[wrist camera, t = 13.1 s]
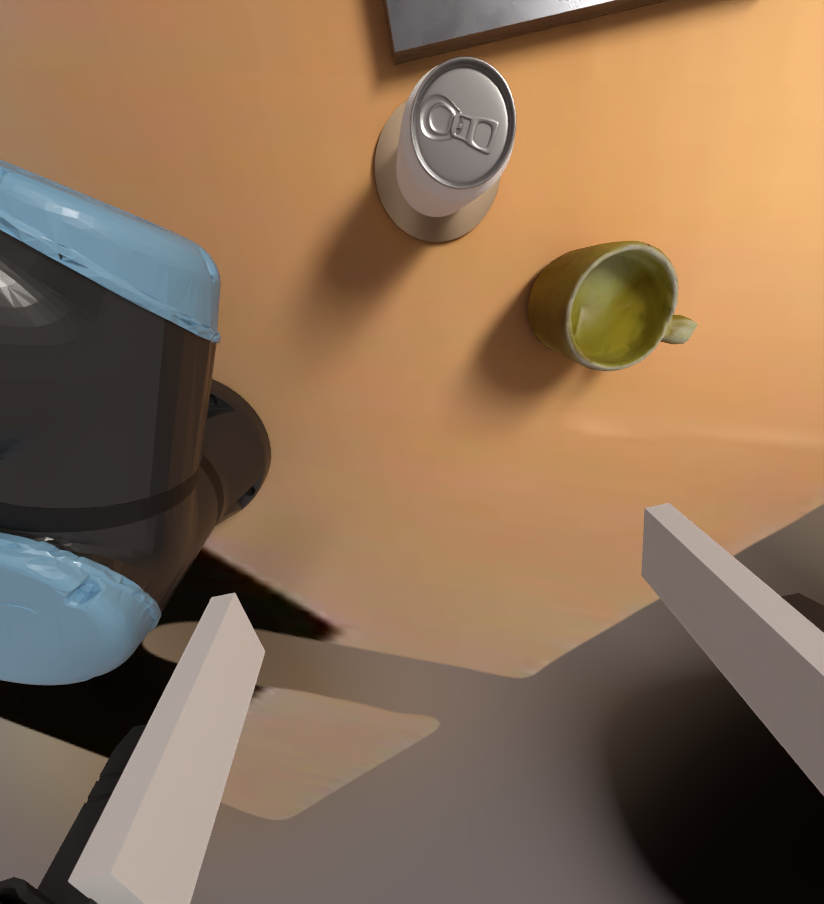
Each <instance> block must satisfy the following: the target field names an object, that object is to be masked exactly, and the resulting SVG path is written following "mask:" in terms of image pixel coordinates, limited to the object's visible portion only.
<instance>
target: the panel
mask: <svg viewBox="0 0 824 904" xmlns="http://www.w3.org/2000/svg"><path fill="white" fill-rule="evenodd" d="M663 1H667V0H383V2H384V8H385V14H386V20H387V25H388V31H389V37H390V43H391V49H392V55H393V61H394V65H395V64H400V63H404V62H408V61H412V60H417V59H421V58H425V57H429V56H434V55H438V54H442V53H446V52H451V51H455V50H459V49H463V48H468V47H472V46H476V45H480V44H484V43H489V42H493V41H497V40H501V39H506V38H510V37H514V36H518V35H523V34H527V33H531V32H535V31H540V30H544V29H548V28H552V27H557V26H561V25H565V24H569V23H574V22H578V21H582V20H586V19H591V18H595V17H599V16H603V15H608V14H612V13H616V12H620V11H624V10H629V9H633V8H637V7H641V6H646V5H650V4H654V3H658V2H663Z"/></svg>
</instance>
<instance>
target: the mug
mask: <svg viewBox="0 0 824 904" xmlns="http://www.w3.org/2000/svg"><path fill="white" fill-rule="evenodd" d="M677 298H678V280H677V274H676V272H675V269H674V267H673V265H672V263H671V261H670V260H669V259H668V258H667V257H666V256H665V255H664V253H663V252H662V251H660V250H659V249H658V248H656V247H654V246H651V245H649V244H646V243H643V242H639V241H622V242H612V243H605V244H599V245H595V246H590V247H586V248H582V249H577V250H574V251H570V252H568V253H566V254H564V255H562V256H560V257H558V258H557V259H555V260H554V261H552V262H551V263H550V264H549V265H548V266H546V268H545V269H544V270H543V271H542V272H541V273H540V275H539V276H538V278H537V279H536V281H535V283H534V285H533V287H532V290H531V292H530V296H529V301H528V319H529V323H530V326H531V329H532V331H533V333H534V334H535V335H536V337H537V338H538V339H539V341H540V342H542V343H543V344H544V345H545V346H547V347H548V348H550V349H552V350H554V351H557V352H560V353H562V354H564V355H565V356H567V357H568V358H570V359H572V360H573V361H575V362H577V363H579V364H581V365H583V366H585V367H587V368H590V369H594V370H601V371H614V370H621V369H624V368H627V367H630V366H632V365H634V364H636V363H638V362H640V361H641V360H643V359H644V358H646V357H647V356H648V355H649V354H650V353H651V352H652V351H653V350H654V349H655V348H656V346H657V345H658V343H659V342H660V341H661V342H665V343H669V344H683V343H685V342H686V341H688V340H689V338H690V337H691V335H692V333H693V331H694V330H695V328H696V327H697V323H696V322H694V321H693V320H691V319H689V318H686V317H684V316H681V315H673V313H674V311H675V308H676V306H677Z"/></svg>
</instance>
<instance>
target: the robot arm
mask: <svg viewBox="0 0 824 904" xmlns="http://www.w3.org/2000/svg"><path fill="white" fill-rule="evenodd" d="M219 297H220V275H219V271H218V268H217V266H216V264H215V262H214V261H213V259H212V258H211V256H210V255H209V254H208V253H207V252H206V251H205V250H204V249H203V248H202V247H201V246H199V245H198V244H197V243H195V242H193V241H191V240H189V239H187V238H185V237H183V236H181V235H179V234H177V233H175V232H172V231H170V230H168V229H166V228H163V227H161V226H159V225H156V224H154V223H152V222H150V221H147V220H145V219H143V218H140V217H138V216H135V215H133V214H131V213H128V212H126V211H124V210H121V209H119V208H117V207H114V206H112V205H109V204H107V203H104V202H102V201H100V200H97V199H95V198H92V197H90V196H88V195H85V194H83V193H80V192H78V191H76V190H73V189H71V188H69V187H66V186H64V185H61V184H59V183H57V182H54V181H52V180H49V179H47V178H44V177H42V176H40V175H37V174H35V173H32V172H30V171H27V170H25V169H22V168H20V167H17V166H15V165H12V164H10V163H8V162H5V161H3V160H0V680H4V681H9V682H15V683H22V684H33V685H62V684H71V683H77V682H82V681H86V680H88V679H91V678H93V677H95V676H100V675H103V674H105V673H108V672H110V671H112V670H113V669H115V668H117V667H118V666H120V665H121V664H122V663H124V662H125V661H126V660H127V659H128V658H129V657H130V656H131V655H132V654H133V652H134V651H135V650H136V648H137V647H138V645H139V644H140V643H141V642H142V640H143V639H144V638H145V636H146V635H147V634H148V632H150V631H151V630H152V629H153V628H155V627H156V626H157V624H158V621H159V619H160V617H161V612H162V611H163V609H164V608H165V606H166V604H167V603H168V601H169V599H170V598H171V596H172V595H173V593H174V591H175V590H176V588H177V587H178V585H179V583H180V582H181V580H182V579H183V577H184V575H185V574H186V572H187V570H188V569H189V567H190V566H191V564H192V562H193V561H194V559H195V558H196V556H197V554H198V553H199V551H200V550H201V548H202V546H203V545H204V543H205V541H206V540H207V538H208V537H209V535H210V533H211V532H212V530H213V529H214V527H215V526H216V525H218V524H219V523H221V522H223V521H224V520H226V519H227V518H229V517H231V516H232V515H234V514H236V513H237V512H239V511H240V510H242V509H243V508H244V507H245V506H247V505H248V504H249V503H250V502H251V501H252V499H253V498H254V497H255V496H256V494H257V493H258V491H259V490H260V488H261V486H262V484H263V482H264V481H265V478H266V476H267V474H268V471H269V467H270V461H271V448H270V442H269V438H268V435H267V432H266V429H265V427H264V425H263V423H262V421H261V419H260V418H259V416H258V415H257V413H256V412H255V411H254V409H253V408H252V407H251V406H250V405H249V404H248V403H247V402H246V401H245V400H244V399H243V398H242V397H241V396H240V395H239V394H237V393H236V392H235V391H233V390H232V389H230V388H229V387H227V386H225V385H223V384H222V383H220V382H218V381H215V380H213V379H212V374H213V366H214V358H215V350H216V343H220V339H221V336H220V334H219V332H218V330H217V326H218V311H219ZM641 576H642V577H643V578H644V579H645V580H646V582H647V583H648V584H649V585H650V586H651V588H652V589H653V590H654V591H655V592H656V594H657V595H658V596H659V597H660V599H661V600H662V601H663V602H664V603H665V605H666V606H667V607H668V608H669V609H670V611H671V612H672V613H673V614H674V615H675V617H676V618H677V619H678V620H679V621H680V623H681V624H682V625H683V626H684V628H685V629H686V630H687V631H688V632H689V634H690V635H691V636H692V637H693V638H694V640H695V641H696V642H697V643H698V644H699V646H700V647H701V648H702V649H703V651H704V652H705V653H706V654H707V655H708V656H709V658H710V659H711V660H712V661H713V662H714V664H715V665H716V666H717V668H718V669H719V670H720V671H721V672H722V674H723V675H724V676H725V677H726V678H727V679H728V681H729V682H730V683H731V684H732V686H733V687H734V688H735V689H736V690H737V692H738V693H739V694H740V695H741V697H742V698H743V699H744V700H745V701H746V702H747V704H748V705H749V706H750V707H751V709H752V710H753V711H754V712H755V713H756V715H757V716H758V717H759V718H760V719H761V720H762V722H763V723H764V724H765V726H766V727H767V728H768V729H769V730H770V732H771V733H772V734H773V735H774V736H775V738H776V739H777V740H778V741H779V743H780V744H781V745H782V746H783V747H784V748H785V750H786V751H787V752H788V753H789V755H790V756H791V757H792V758H793V759H794V761H795V762H796V763H797V764H798V766H799V767H800V768H801V769H802V770H803V771H804V773H805V774H806V775H807V776H808V778H809V779H810V780H811V781H812V782H813V784H814V785H815V786H816V787H817V788H818V790H819V791H820V792H821V793H822V795H824V606H823V605H822V604H820V603H817V602H815V601H813V600H811V599H809V598H807V597H805V596H803V595H801V594H799V593H797V594H792V595H787V596H782V597H780V596H779V595H778V594H777V593H776V592H775V591H773V590H772V589H771V588H770V587H768V586H767V585H766V584H765V583H764V582H763V581H761V580H760V579H759V578H758V577H756V576H755V575H754V574H753V573H752V572H751V571H749V570H748V569H747V568H746V567H745V566H744V565H742V564H741V563H740V562H739V561H737V560H736V559H735V558H734V557H733V556H732V555H731V554H729V553H728V552H727V551H726V550H725V549H723V548H722V547H721V546H720V545H719V544H717V543H716V542H715V541H714V540H713V539H711V538H710V537H709V536H708V535H707V534H706V533H704V532H703V531H702V530H701V529H700V528H698V527H697V526H696V525H695V524H694V523H692V522H691V521H690V520H689V519H688V518H686V517H685V516H684V515H683V514H682V513H681V512H679V511H678V510H677V509H676V508H675V507H673V506H672V505H671V504H670V503H667V504H662V505H657V506H652V507H647V508H645V512H644V533H643V554H642V575H641ZM264 654H265V650H264V648H263V646H262V645H261V643H260V641H259V639H258V637H257V635H256V633H255V631H254V629H253V627H252V625H251V623H250V621H249V619H248V617H247V615H246V613H245V611H244V610H243V608H242V606H241V604H240V602H239V600H238V598H237V596H236V594H235V593H231V594H226V595H221V596H216V597H212V598H211V600H210V602H209V604H208V606H207V607H206V609H205V611H204V613H203V615H202V617H201V619H200V621H199V623H198V625H197V627H196V629H195V631H194V633H193V635H192V637H191V639H190V641H189V643H188V645H187V647H186V649H185V651H184V653H183V655H182V657H181V659H180V661H179V663H178V665H177V667H176V669H175V671H174V673H173V675H172V677H171V679H170V680H169V682H168V684H167V686H166V688H165V690H164V692H163V694H162V696H161V698H160V700H159V702H158V704H157V706H156V708H155V710H154V712H153V714H152V716H151V718H150V720H149V722H148V724H146V725H141V726H136V727H133V728H132V729H131V730H130V732H129V733H128V734H127V735H126V736H125V738H124V739H123V740H122V741H121V742H120V743H119V745H118V746H117V747H116V748H115V749H114V751H113V752H112V754H111V756H110V758H109V760H108V761H107V763H106V765H105V767H104V769H103V771H102V772H101V774H100V779H99V781H96V783H95V785H94V787H93V789H92V791H91V792H90V794H89V796H88V801H87V803H85V804H84V805H83V807H82V809H81V811H80V813H79V814H78V816H77V818H76V820H75V822H74V824H73V825H72V828H71V829H70V831H69V833H68V835H67V836H66V838H65V840H64V842H63V844H62V845H61V847H60V849H59V851H58V853H57V854H56V856H55V858H54V860H53V862H52V863H51V866H50V867H49V869H48V871H47V873H46V874H45V876H44V878H43V880H42V882H41V884H40V885H39V887H38V889H35V888H34V887H33V886H31V885H30V884H29V883H27V882H26V881H25V880H22V879H19V878H15V877H13V878H10V879H7V880H4V881H1V882H0V904H190V901H191V898H192V895H193V891H194V888H195V884H196V881H197V878H198V874H199V871H200V868H201V865H202V861H203V858H204V854H205V851H206V848H207V844H208V841H209V838H210V834H211V831H212V828H213V824H214V821H215V818H216V814H217V811H218V808H219V804H220V801H221V798H222V794H223V791H224V788H225V784H226V781H227V778H228V774H229V771H230V768H231V764H232V761H233V758H234V754H235V751H236V748H237V744H238V741H239V738H240V734H241V731H242V727H243V724H244V721H245V717H246V714H247V711H248V707H249V704H250V701H251V697H252V694H253V691H254V687H255V684H256V681H257V677H258V674H259V671H260V667H261V664H262V661H263V657H264Z"/></svg>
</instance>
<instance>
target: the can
mask: <svg viewBox="0 0 824 904" xmlns="http://www.w3.org/2000/svg"><path fill="white" fill-rule="evenodd" d="M515 131H516V110H515V104H514V100H513V96H512V93H511V91H510V88H509V86H508V84H507V83H506V81H505V79H504V78H503V77H502V75H501V74H500V73H499V72H498V71H497V70H496V69H495V68H494V67H493V66H492V65H490V64H489V63H487V62H485V61H483V60H481V59H478V58H474V57H456V58H452V59H449V60H447V61H445V62H443V63H441V64H440V65H438V66H436V67H434V68H433V69H431V70H430V71H429V72H427V73H426V74H425V75H424V76H423V77H422V78H421V79H420V81H419V82H418V83H417V84H416V86H415V87H414V89H413V91H412V92H411V94H410V96H409V98H408V101H407V103H406V106H405V109H404V113H403V117H402V122H401V128H400V135H399V143H398V152H397V162H396V175H397V181H398V185H399V188H400V191H401V193H402V195H403V197H404V198H405V200H406V201H407V202H408V204H409V205H410V206H411V207H412V208H413V209H415V210H416V211H418V212H419V213H421V214H423V215H426V216H430V217H443V216H447V215H450V214H452V213H454V212H456V211H458V210H459V209H461V208H463V207H464V206H466V205H467V204H469V203H470V202H472V201H473V200H475V199H476V198H478V197H479V196H480V195H482V194H483V193H485V192H486V191H487V190H488V189H489V188H490V187H491V186H492V185H493V184H494V183H495V182H496V181H497V180H498V178H499V177H500V176H501V174H502V173H503V171H504V169H505V167H506V166H507V163H508V161H509V159H510V156H511V153H512V149H513V145H514V138H515Z"/></svg>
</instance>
